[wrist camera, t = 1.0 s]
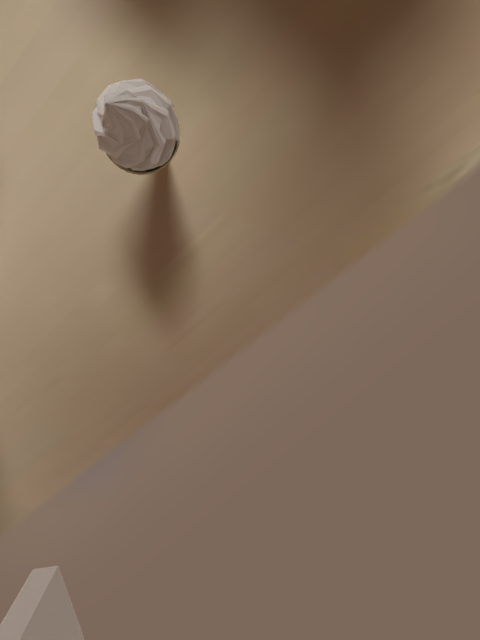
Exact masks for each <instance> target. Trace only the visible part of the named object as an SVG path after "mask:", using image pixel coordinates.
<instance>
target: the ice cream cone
mask: <svg viewBox="0 0 480 640" xmlns="http://www.w3.org/2000/svg"><path fill="white" fill-rule="evenodd" d="M96 106H97V107H96V108H95V110H94V111H93V113H92V119H93V126H94V131H95V134H96V135H97V139H98V144H99V149H101V150H102V151H104V152H106V154H107V155H108V157H109V158H110V159H111V161H112V162H113V163H114V164H115V165H117V166H118V167H119V168H121V169H123V170H125V171H126V172H129V173H132V174H138V175H146V174H151V173H155V172H157V171H159V170H161V169H163V168H164V167H165V166H167V165H168V164H169V162H170V161H171V160H172V159H173V157H174V156H175V154H176V152H177V149H178V146H179V142H180V124H179V120H178V117H177V115H176V112H175V110H174V109H173V104H172V103H171V102H170V101H169V99H168V98H166V97H165V96H164V95H163V94H162V93H161V92H160V91H159V90H158V89H157V88H155V87H154V86H153V85H151V84H149V83H148V82H146V81H144V80H143V79H134V80H126V81H120V82H117V83H113V84H109V85H108V86H107V88H106V89H105V90H104V91H103V93H102V94H101V95H100V96H99V98H98V99H97V100H96Z"/></svg>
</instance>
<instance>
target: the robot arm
mask: <svg viewBox="0 0 480 640" xmlns="http://www.w3.org/2000/svg"><path fill="white" fill-rule="evenodd" d="M0 640H84V636H83V633H82V631H81V628H80V625H79V622H78V619H77V617H76V614H75V611H74V608H73V605H72V603H71V600H70V597H69V594H68V591H67V589H66V586H65V583H64V580H63V577H62V575H61V572H60V569H59V567H58V566H52V567H45V568H39V569H33V570H32V572H31V573H30V575H29V577H28V579H27V580H26V582H25V584H24V585H23V587H22V589H21V591H20V592H19V594H18V596H17V597H16V599H15V601H14V602H13V604H12V606H11V607H10V609H9V611H8V613H7V615H6V616H5V618H4V619H3V621H2V623H1V625H0Z"/></svg>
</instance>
